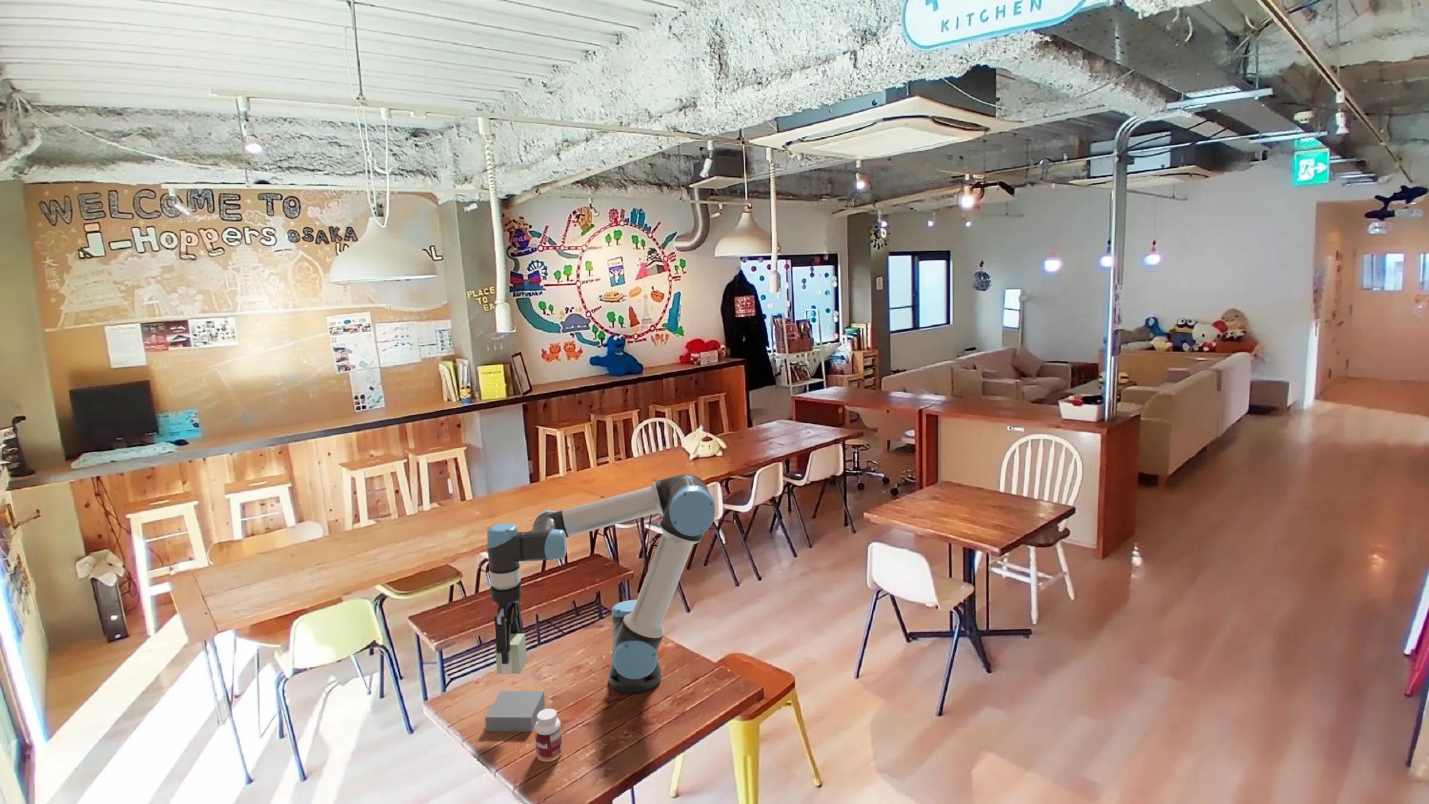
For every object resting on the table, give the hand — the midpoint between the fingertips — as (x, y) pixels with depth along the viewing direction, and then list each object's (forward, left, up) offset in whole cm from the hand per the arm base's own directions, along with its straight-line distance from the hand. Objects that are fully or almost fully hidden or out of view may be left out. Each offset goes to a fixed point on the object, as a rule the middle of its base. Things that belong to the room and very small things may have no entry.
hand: (511, 666), depth 194 cm
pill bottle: (-13, +15, -15) cm, 25 cm away
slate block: (0, 0, -15) cm, 15 cm away
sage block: (0, 0, 0) cm, 0 cm away
